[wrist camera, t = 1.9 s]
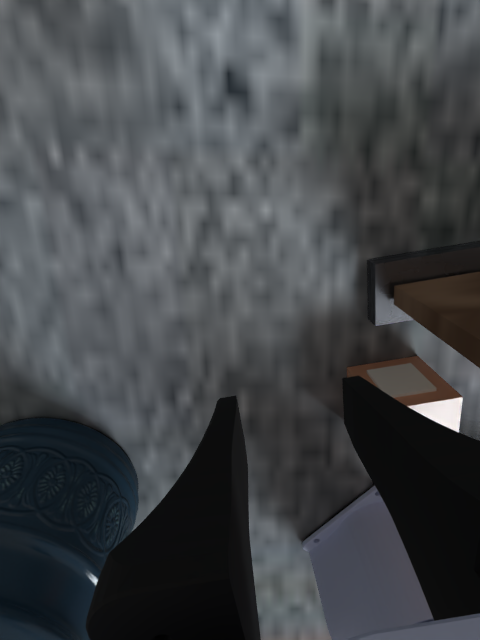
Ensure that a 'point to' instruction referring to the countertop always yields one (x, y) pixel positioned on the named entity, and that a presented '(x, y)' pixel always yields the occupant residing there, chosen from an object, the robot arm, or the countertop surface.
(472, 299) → the panel
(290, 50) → the countertop surface
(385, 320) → the rail
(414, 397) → the cube
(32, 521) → the canister
